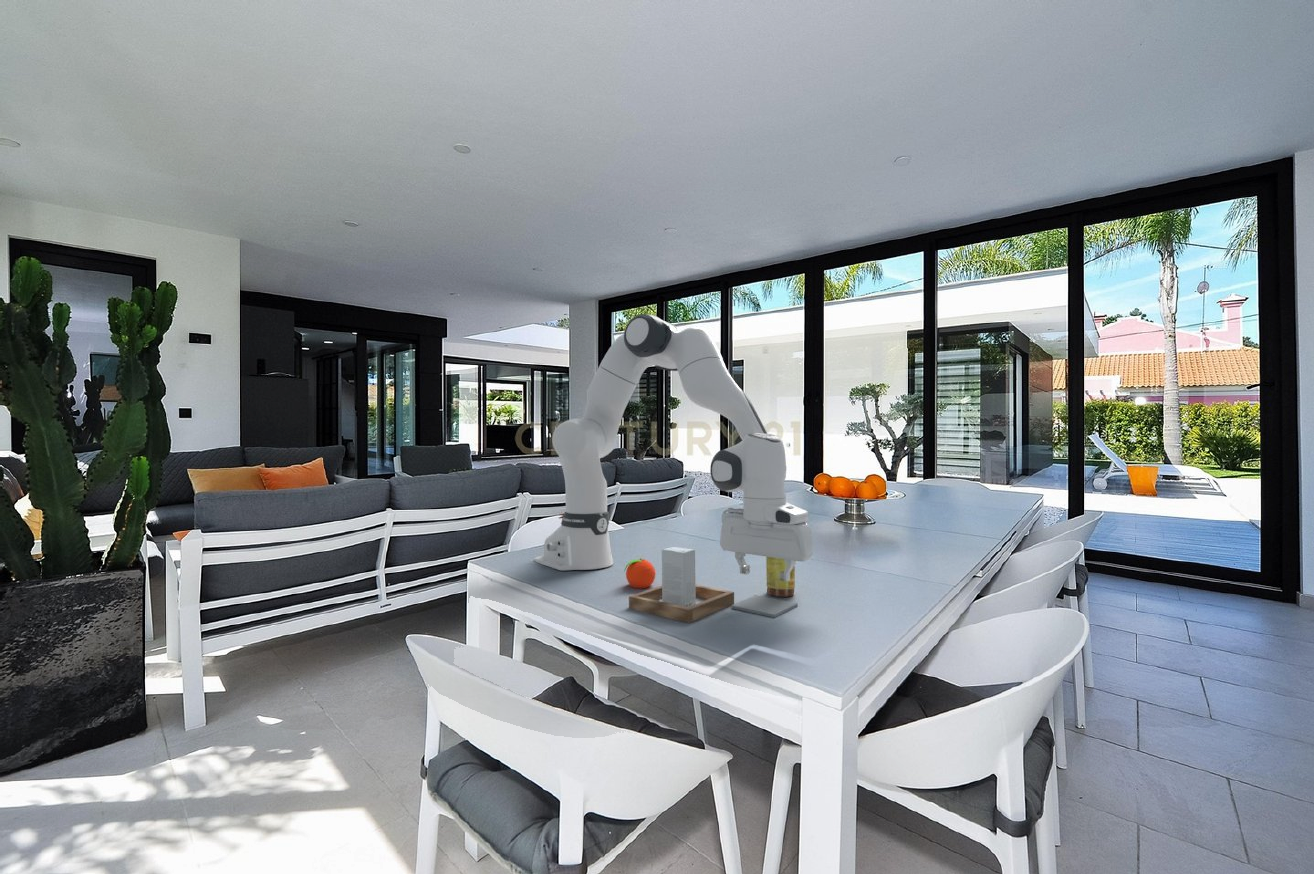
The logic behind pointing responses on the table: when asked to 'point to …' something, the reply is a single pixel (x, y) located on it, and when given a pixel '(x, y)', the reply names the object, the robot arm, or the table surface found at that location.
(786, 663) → the table surface
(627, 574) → the clementine
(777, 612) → the slate pad
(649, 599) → the frame
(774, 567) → the sauce bottle
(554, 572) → the table surface
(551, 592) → the table surface
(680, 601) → the skincare box
